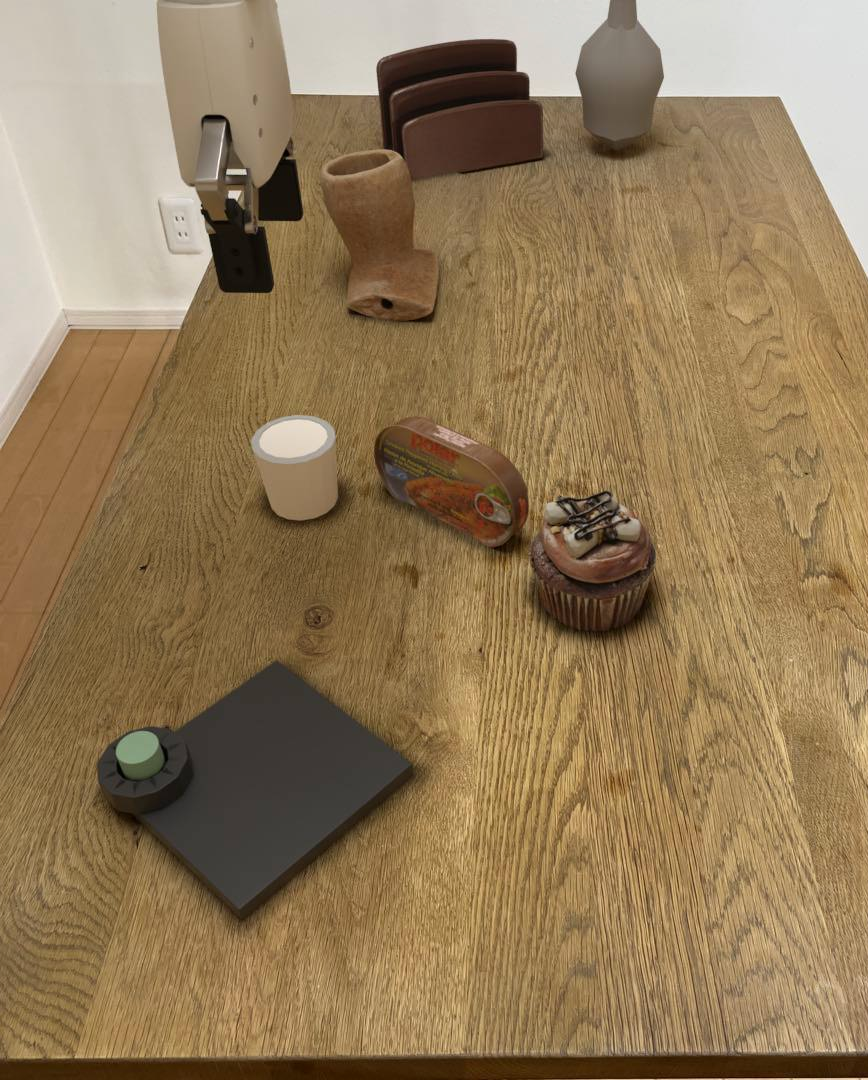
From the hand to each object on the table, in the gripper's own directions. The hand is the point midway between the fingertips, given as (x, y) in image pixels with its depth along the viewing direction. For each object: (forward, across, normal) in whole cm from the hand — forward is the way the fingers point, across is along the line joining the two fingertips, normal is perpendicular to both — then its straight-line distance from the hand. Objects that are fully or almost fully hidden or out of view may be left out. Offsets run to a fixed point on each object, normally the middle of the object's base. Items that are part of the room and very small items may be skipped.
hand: (264, 253), depth 70 cm
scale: (+28, +20, 0) cm, 35 cm away
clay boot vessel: (+28, -46, 0) cm, 54 cm away
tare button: (+25, +21, -7) cm, 33 cm away
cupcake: (+28, +2, +22) cm, 35 cm away
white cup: (+28, -9, -3) cm, 30 cm away
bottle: (+28, -88, +27) cm, 96 cm away
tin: (+28, -7, +10) cm, 31 cm away
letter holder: (+28, -84, +6) cm, 89 cm away
